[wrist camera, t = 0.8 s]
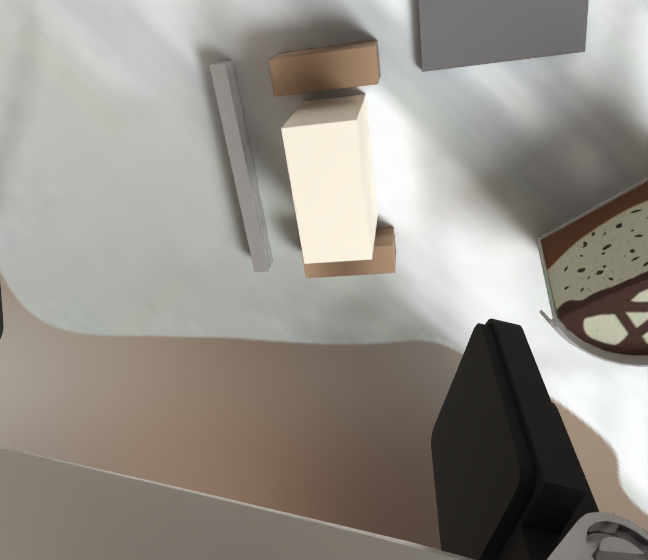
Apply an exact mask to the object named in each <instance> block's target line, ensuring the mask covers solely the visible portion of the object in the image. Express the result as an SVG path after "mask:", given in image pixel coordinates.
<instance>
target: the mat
mask: <svg viewBox="0 0 648 560" xmlns="http://www.w3.org/2000/svg"><path fill="white" fill-rule="evenodd" d="M418 5H419V23H420V41H421V60H422V72H424V71H432V70H440V69H448V68H456V67H464V66H472V65H480V64H488V63H496V62H505V61H513V60H521V59H529V58H537V57H545V56H553V55H561V54H569V53H577V52H585V42H586V28H587V14H588V0H418Z"/></svg>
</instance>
